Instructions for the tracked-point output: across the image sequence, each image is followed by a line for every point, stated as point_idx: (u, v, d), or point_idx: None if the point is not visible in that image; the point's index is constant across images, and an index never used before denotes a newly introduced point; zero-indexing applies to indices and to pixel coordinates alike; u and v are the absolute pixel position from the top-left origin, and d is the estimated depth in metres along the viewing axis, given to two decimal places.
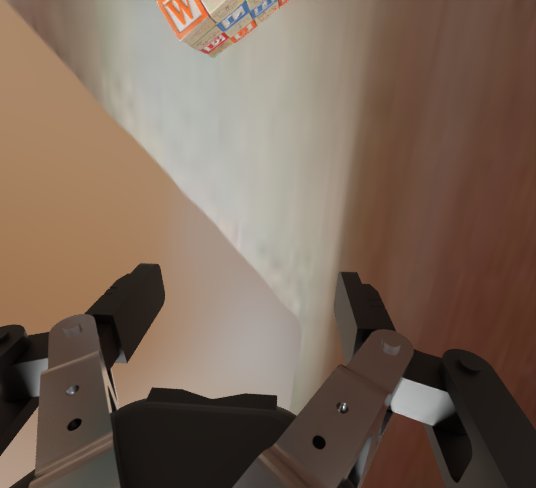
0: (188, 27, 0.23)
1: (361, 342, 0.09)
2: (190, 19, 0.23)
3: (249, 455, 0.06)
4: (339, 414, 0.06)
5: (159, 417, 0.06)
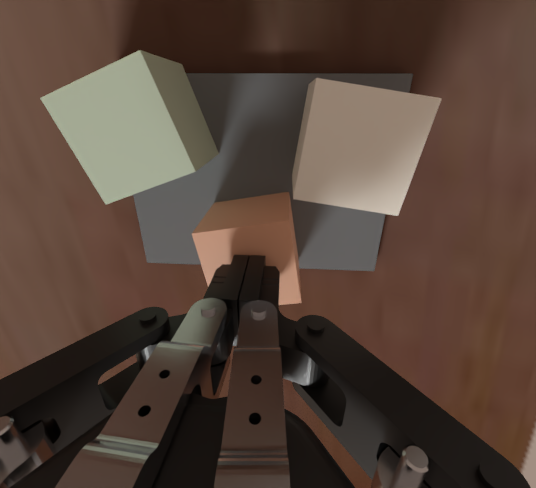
0: None
1: None
2: None
3: None
4: (256, 387, 0.07)
5: None
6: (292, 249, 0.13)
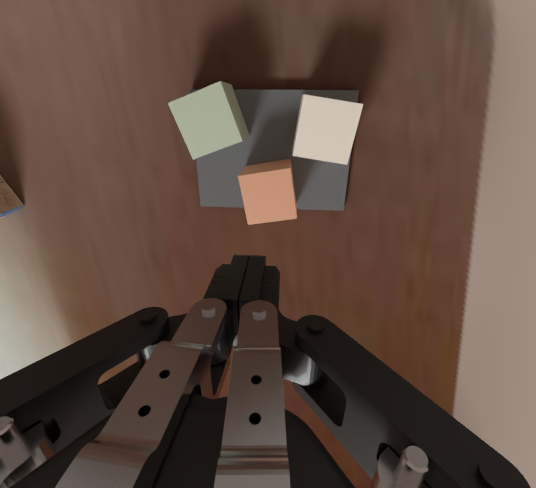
0: None
1: None
2: None
3: None
4: (256, 387, 0.07)
5: None
6: (292, 185, 0.25)
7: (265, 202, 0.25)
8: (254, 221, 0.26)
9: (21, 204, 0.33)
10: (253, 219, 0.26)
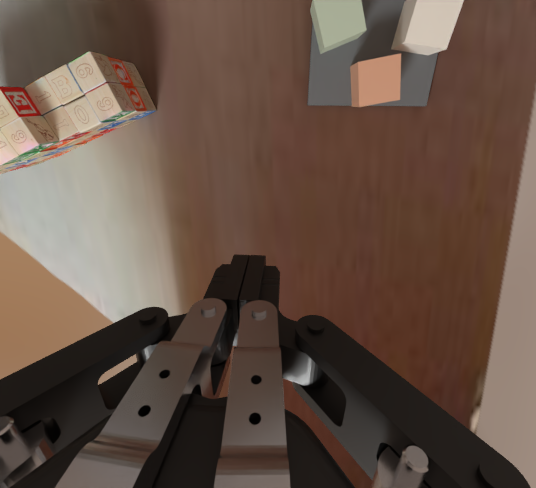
0: None
1: None
2: None
3: None
4: (256, 387, 0.07)
5: None
6: (400, 69, 0.32)
7: (376, 85, 0.32)
8: (365, 103, 0.33)
9: (155, 109, 0.40)
10: (364, 101, 0.33)
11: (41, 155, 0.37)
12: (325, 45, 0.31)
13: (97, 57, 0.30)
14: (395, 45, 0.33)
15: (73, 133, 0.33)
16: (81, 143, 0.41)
